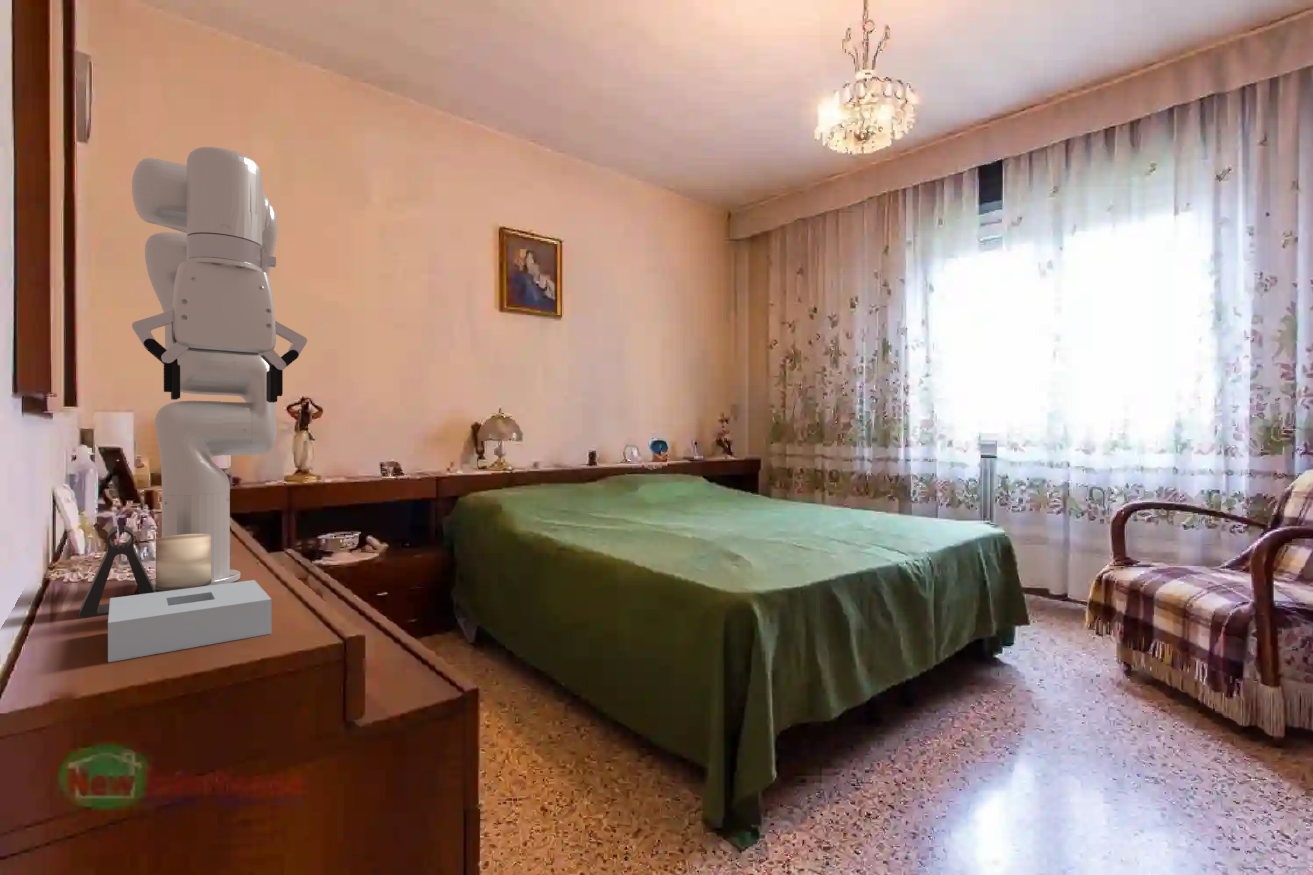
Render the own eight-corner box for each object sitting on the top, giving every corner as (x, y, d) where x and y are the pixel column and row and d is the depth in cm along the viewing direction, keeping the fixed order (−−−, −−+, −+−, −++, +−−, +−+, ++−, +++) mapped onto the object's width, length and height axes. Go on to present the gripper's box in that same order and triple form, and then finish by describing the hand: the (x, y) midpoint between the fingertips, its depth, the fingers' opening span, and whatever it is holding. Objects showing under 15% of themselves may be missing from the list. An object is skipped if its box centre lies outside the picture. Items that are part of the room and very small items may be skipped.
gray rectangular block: (110, 632, 82) (110, 598, 82) (254, 610, 92) (254, 579, 92) (108, 662, 71) (107, 622, 71) (271, 633, 81) (271, 599, 81)
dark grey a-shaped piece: (78, 618, 88) (78, 533, 88) (80, 609, 92) (80, 528, 92) (160, 607, 94) (160, 527, 94) (158, 599, 98) (158, 523, 98)
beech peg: (154, 612, 91) (154, 536, 91) (209, 604, 95) (209, 532, 95) (156, 622, 86) (156, 542, 86) (213, 613, 90) (213, 537, 90)
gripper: (299, 276, 84) (300, 404, 84) (131, 251, 73) (131, 399, 73) (312, 265, 78) (313, 402, 78) (132, 236, 67) (132, 396, 67)
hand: (225, 400), depth 75 cm, fingers open, 9 cm apart
